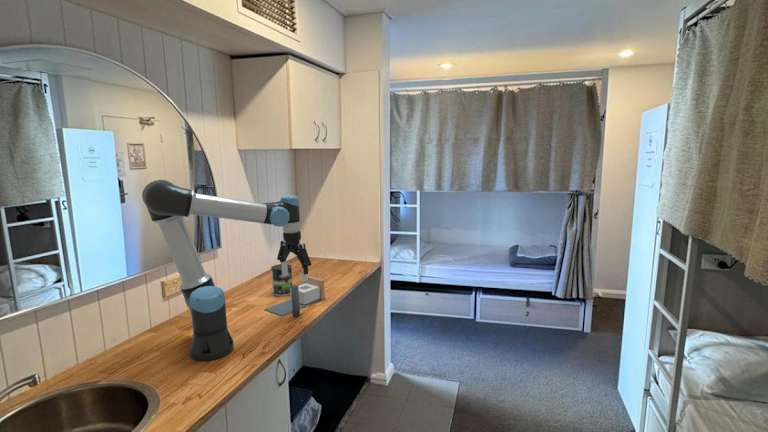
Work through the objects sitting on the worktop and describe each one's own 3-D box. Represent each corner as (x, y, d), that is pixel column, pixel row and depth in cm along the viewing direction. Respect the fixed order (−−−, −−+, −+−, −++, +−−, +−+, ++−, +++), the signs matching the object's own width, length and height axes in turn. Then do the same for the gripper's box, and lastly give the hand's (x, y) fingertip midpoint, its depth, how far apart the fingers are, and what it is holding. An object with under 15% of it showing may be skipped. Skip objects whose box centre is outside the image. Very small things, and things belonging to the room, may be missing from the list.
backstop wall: (321, 300, 203) (320, 280, 201) (304, 294, 211) (303, 276, 209) (324, 299, 204) (323, 279, 203) (307, 293, 212) (306, 275, 211)
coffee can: (296, 292, 214) (295, 266, 212) (278, 297, 208) (276, 270, 205) (287, 288, 222) (285, 262, 220) (269, 292, 215) (267, 266, 213)
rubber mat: (281, 316, 184) (281, 315, 184) (264, 309, 192) (264, 309, 192) (324, 299, 204) (324, 298, 204) (307, 293, 212) (307, 293, 212)
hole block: (304, 304, 195) (303, 292, 194) (291, 300, 202) (290, 288, 201) (320, 298, 203) (319, 286, 202) (306, 294, 209) (306, 283, 208)
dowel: (295, 318, 182) (294, 287, 180) (291, 316, 184) (289, 286, 182) (301, 315, 184) (299, 285, 182) (296, 314, 186) (295, 284, 184)
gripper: (317, 232, 173) (320, 281, 177) (280, 227, 188) (283, 271, 192) (304, 236, 167) (307, 286, 171) (266, 229, 183) (270, 275, 186)
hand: (294, 278), depth 181 cm, fingers open, 13 cm apart
